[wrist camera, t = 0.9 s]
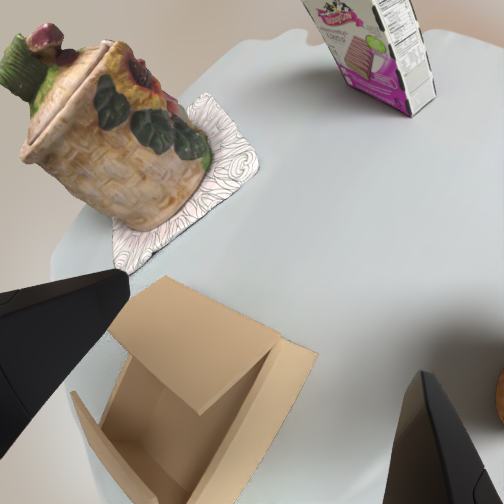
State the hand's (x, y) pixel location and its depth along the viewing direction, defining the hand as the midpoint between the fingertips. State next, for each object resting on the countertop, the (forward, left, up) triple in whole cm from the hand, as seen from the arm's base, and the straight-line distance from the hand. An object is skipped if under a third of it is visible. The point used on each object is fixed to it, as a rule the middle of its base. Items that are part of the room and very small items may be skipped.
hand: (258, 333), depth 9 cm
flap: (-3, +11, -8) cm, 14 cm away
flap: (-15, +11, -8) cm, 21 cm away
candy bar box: (+29, +8, -17) cm, 34 cm away
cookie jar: (+13, +36, -17) cm, 42 cm away
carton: (-9, +11, -16) cm, 22 cm away
